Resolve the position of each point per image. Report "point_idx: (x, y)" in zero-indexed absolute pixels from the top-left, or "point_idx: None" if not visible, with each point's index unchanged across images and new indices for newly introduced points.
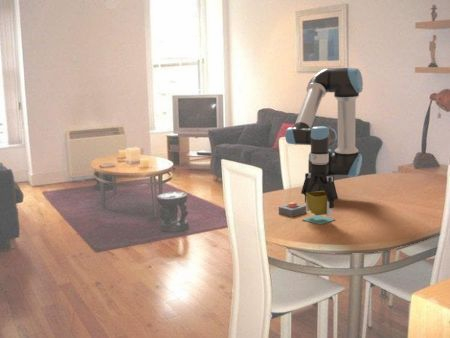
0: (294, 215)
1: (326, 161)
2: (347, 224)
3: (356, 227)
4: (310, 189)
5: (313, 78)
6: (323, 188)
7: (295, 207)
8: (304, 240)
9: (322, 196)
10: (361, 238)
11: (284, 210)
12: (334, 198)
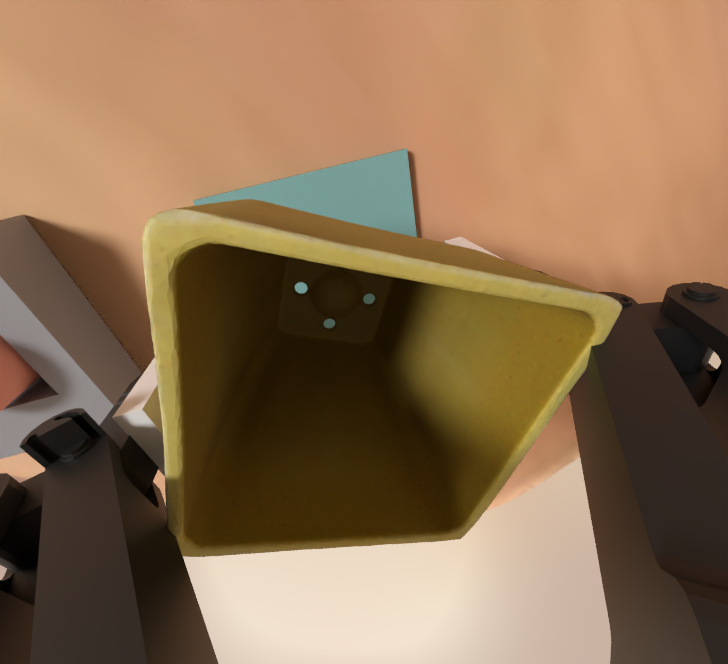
0: (134, 365)
1: None
2: (547, 145)
3: (635, 142)
4: (182, 587)
5: None
6: (610, 590)
7: (19, 361)
8: (521, 474)
9: (517, 463)
10: (719, 277)
11: None
12: (700, 369)
